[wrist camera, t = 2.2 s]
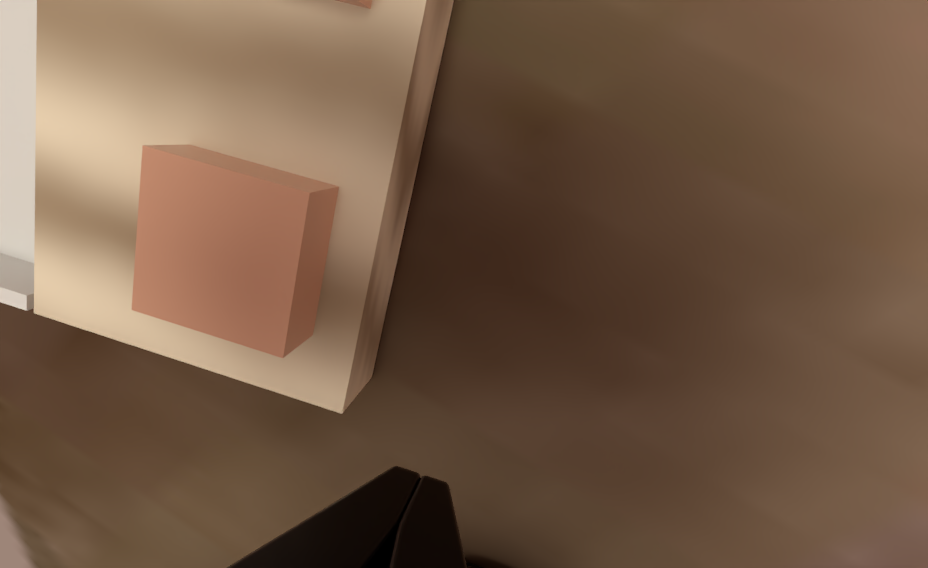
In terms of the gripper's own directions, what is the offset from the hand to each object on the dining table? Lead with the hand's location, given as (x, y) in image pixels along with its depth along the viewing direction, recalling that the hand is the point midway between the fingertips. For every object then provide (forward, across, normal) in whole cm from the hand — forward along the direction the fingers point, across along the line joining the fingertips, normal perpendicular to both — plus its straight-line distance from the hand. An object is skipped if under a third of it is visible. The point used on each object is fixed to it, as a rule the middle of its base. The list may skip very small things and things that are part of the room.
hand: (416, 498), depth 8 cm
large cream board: (+12, +10, -5) cm, 16 cm away
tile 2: (+9, +8, 0) cm, 12 cm away
